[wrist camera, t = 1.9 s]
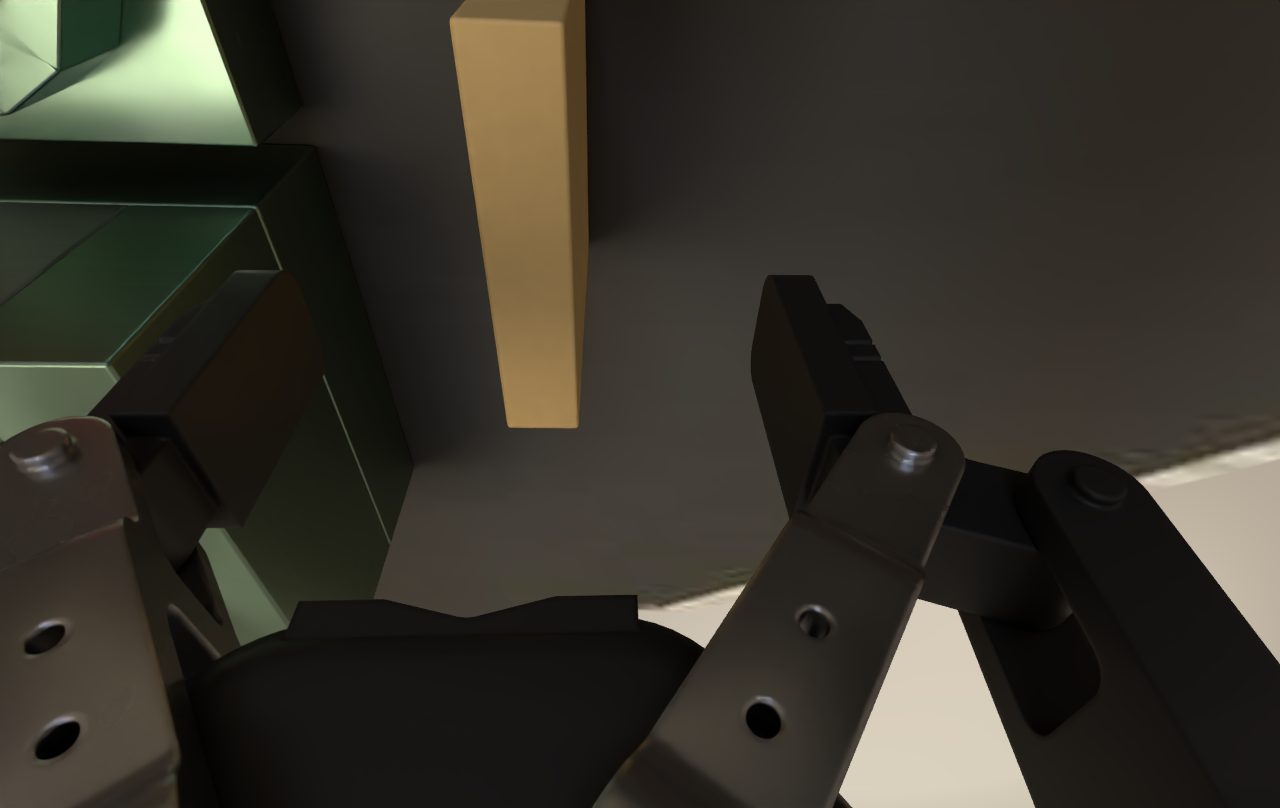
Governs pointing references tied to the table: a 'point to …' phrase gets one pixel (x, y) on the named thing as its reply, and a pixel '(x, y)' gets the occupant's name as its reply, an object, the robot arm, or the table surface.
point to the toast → (530, 192)
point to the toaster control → (143, 72)
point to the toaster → (173, 284)
